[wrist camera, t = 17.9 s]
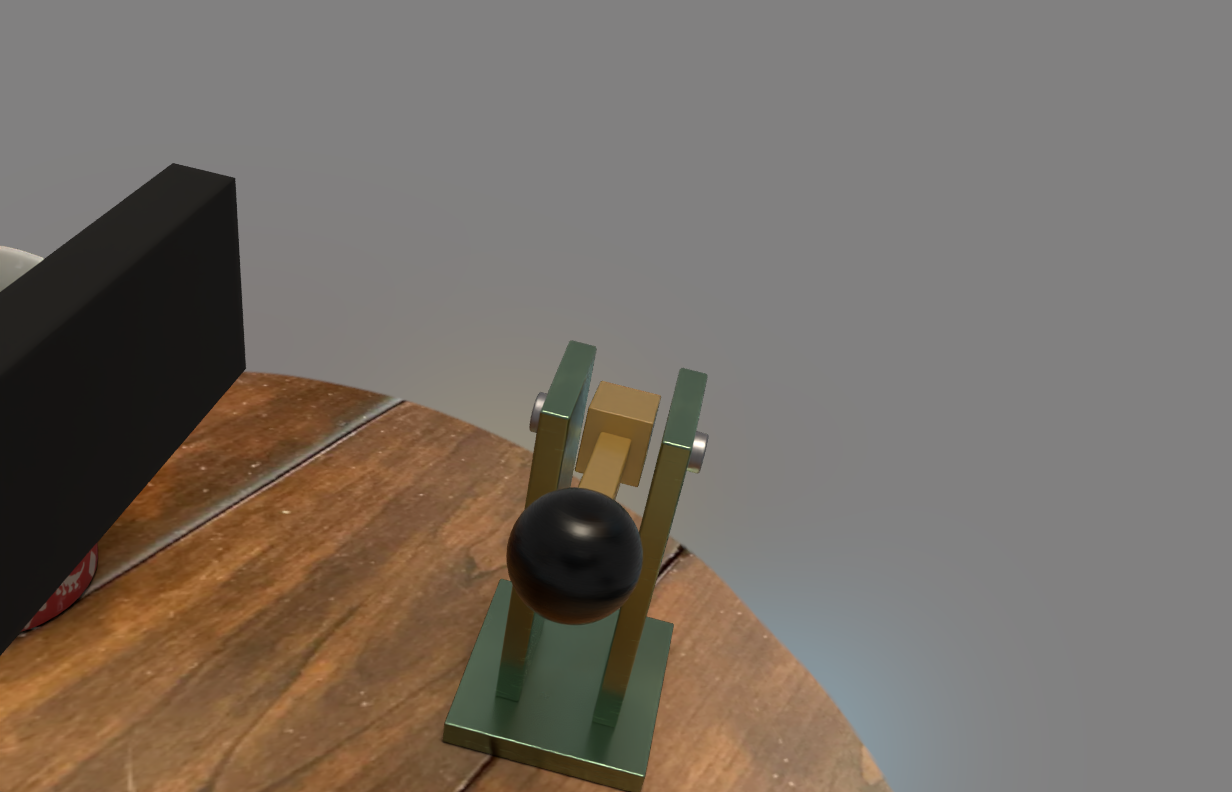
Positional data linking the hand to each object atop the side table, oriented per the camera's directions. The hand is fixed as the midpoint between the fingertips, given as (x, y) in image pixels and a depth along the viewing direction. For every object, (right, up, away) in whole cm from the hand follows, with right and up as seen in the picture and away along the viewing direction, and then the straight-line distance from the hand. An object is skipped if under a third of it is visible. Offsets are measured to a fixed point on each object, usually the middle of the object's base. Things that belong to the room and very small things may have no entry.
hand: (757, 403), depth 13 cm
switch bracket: (-4, -12, +32) cm, 35 cm away
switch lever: (-3, -4, +20) cm, 21 cm away
